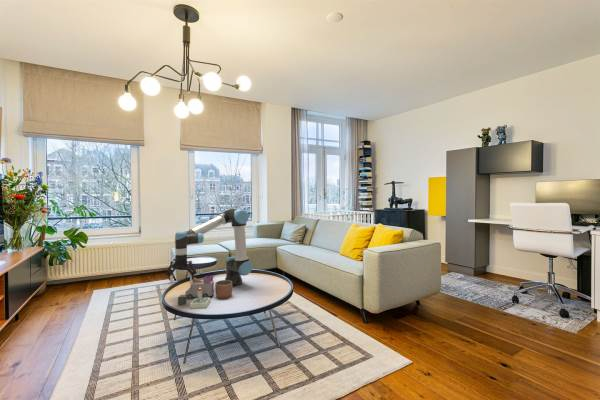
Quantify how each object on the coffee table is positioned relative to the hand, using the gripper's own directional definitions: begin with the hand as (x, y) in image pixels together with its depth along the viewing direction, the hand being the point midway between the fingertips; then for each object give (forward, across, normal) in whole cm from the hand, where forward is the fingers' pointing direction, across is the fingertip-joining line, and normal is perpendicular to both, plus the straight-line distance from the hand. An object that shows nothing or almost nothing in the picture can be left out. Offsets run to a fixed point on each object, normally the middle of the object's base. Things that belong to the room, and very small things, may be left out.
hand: (181, 284), depth 201 cm
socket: (+14, -14, -5) cm, 20 cm away
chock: (+14, 0, 0) cm, 14 cm away
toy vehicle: (+14, -9, -14) cm, 22 cm away
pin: (+13, -14, +4) cm, 19 cm away
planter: (+14, -27, -12) cm, 33 cm away
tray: (+14, -14, +3) cm, 20 cm away
